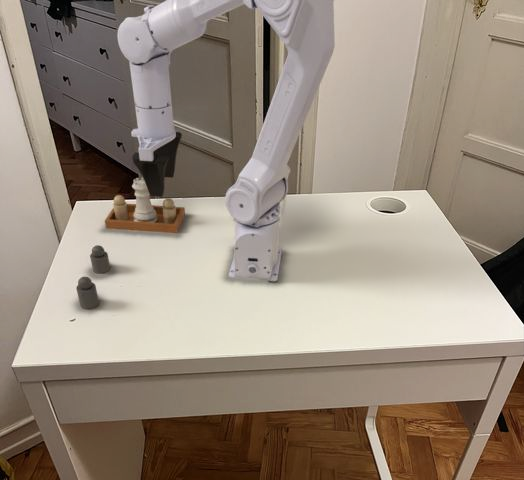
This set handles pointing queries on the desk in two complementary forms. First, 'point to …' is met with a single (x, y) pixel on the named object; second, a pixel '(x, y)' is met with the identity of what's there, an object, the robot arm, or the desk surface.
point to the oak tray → (146, 226)
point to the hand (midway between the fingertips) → (162, 185)
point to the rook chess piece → (143, 203)
